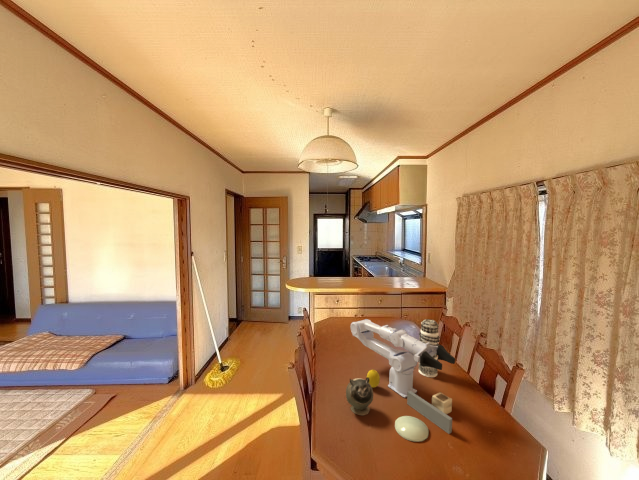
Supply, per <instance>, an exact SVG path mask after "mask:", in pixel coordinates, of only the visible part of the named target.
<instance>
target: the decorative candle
mask: <svg viewBox="0 0 639 480" xmlns="http://www.w3.org/2000/svg"><path fill="white" fill-rule="evenodd" d="M439 327H440V324H439V323H438V322H437V321H436V320H434V319H429V318H427V319H424V320H423V321H421V322H420V331H419V333H418V336H419V338H418V340H419V341H421V342H423V343H425V344H426V343H428V342H429V343H430V345H432V346H438V345H440V341H441V340H440V339H441V337H440V336H439ZM433 358H434V359H436V360H437V361H439V360H438V355H437V354H435V355H434V356H433ZM417 369H418V373H419V374H420V375H422V376H424V377H427V378H435V377H437V376H438V372H439V369H435V368H432V367H422V366H421V365H420V362H418V368H417Z"/></svg>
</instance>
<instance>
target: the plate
mask: <svg viewBox="0 0 639 480" xmlns="http://www.w3.org/2000/svg"><path fill="white" fill-rule="evenodd" d="M394 428H395V431H396V432H397V434H398V435H399V436H400V438H401V437H402V438H403V439H405V440H407V441H410V442H414V443H417V442H419V443H420V442H424V441H426V440H427V439H428V437H429V431H430V430H429V428H428V426H427V425H426V424H425V422H424V421H423V420H421V419H420V418H417V417H415V416H411V415H403V416H399V417H398V418H397V419H395V422H394Z"/></svg>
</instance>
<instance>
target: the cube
mask: <svg viewBox="0 0 639 480" xmlns="http://www.w3.org/2000/svg"><path fill="white" fill-rule="evenodd" d="M431 405H433V406H434V407H436V408H437V409H439V410H440V411H442V412H443V413H445V414H446V415H448V414H450V413H451V412H452V407H453V398H451V397H449V396H448V395H446V394H444V393H443V392H441V391H439V392H437V393H436V394H433V395H432V397H431Z"/></svg>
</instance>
